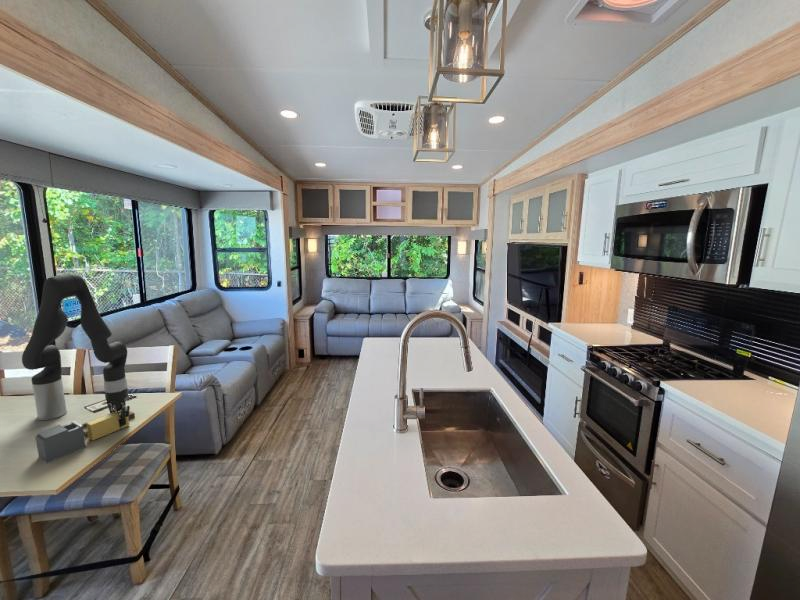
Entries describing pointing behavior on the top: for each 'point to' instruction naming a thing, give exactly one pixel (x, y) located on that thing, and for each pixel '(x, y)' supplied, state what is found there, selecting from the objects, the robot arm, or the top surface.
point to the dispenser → (60, 441)
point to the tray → (131, 415)
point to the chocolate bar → (103, 404)
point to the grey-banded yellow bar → (104, 425)
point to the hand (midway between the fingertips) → (120, 423)
